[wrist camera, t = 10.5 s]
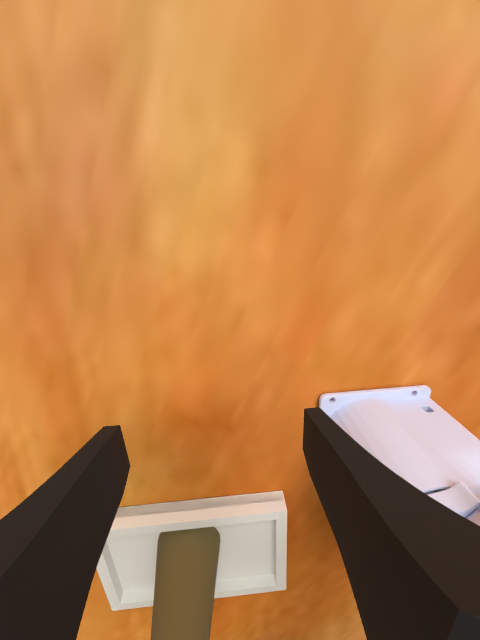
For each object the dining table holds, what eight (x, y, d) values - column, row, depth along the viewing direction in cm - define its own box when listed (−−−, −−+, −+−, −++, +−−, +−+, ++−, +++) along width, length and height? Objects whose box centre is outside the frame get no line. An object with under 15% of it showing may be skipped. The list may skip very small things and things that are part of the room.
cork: (193, 568, 28) (179, 768, 18) (144, 545, 27) (98, 752, 16) (233, 536, 27) (242, 731, 17) (184, 510, 25) (161, 710, 15)
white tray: (282, 490, 27) (287, 510, 25) (281, 567, 31) (286, 589, 29) (93, 510, 26) (83, 532, 24) (118, 586, 30) (112, 610, 28)
